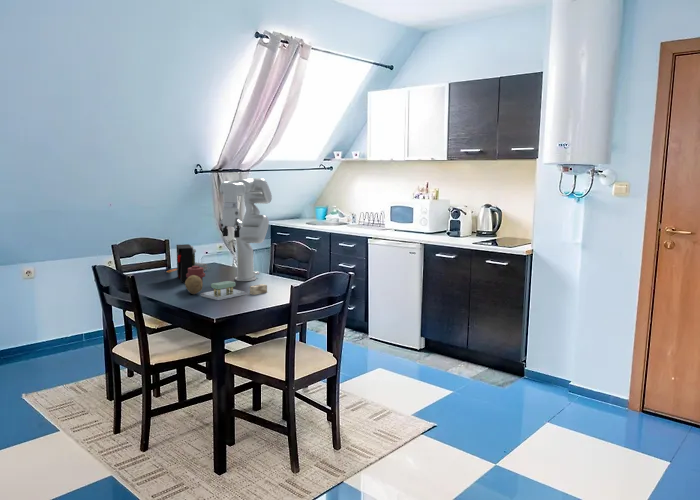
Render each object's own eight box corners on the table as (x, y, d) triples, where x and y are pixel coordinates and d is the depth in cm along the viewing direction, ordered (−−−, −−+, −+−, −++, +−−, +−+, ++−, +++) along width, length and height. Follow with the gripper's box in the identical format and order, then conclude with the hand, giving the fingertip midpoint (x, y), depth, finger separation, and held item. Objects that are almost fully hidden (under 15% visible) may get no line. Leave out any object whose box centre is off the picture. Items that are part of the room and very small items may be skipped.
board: (228, 284, 289) (228, 280, 289) (235, 286, 285) (235, 282, 285) (211, 287, 280) (211, 283, 280) (218, 289, 277) (218, 285, 276)
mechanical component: (193, 286, 306) (208, 287, 303) (183, 289, 296) (199, 290, 294) (192, 264, 304) (208, 265, 302) (182, 267, 295) (198, 268, 292)
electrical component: (196, 281, 318) (196, 247, 315) (178, 283, 314) (177, 248, 311) (193, 276, 334) (192, 244, 331) (176, 277, 330) (175, 244, 327)
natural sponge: (187, 292, 290) (186, 273, 289) (204, 292, 291) (204, 273, 290) (183, 295, 281) (183, 276, 280) (201, 295, 282) (201, 276, 281)
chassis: (228, 290, 295) (228, 282, 294) (245, 294, 286) (245, 286, 285) (200, 296, 281) (200, 287, 280) (217, 300, 272) (217, 291, 272)
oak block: (262, 291, 295) (262, 283, 294) (267, 292, 293) (267, 284, 292) (249, 293, 288) (249, 286, 287) (254, 294, 286) (254, 287, 285)
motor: (189, 267, 366) (188, 260, 365) (213, 270, 355) (212, 263, 354) (162, 278, 347) (160, 270, 345) (187, 282, 336) (186, 274, 334)
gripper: (246, 206, 295) (246, 237, 298) (226, 204, 306) (226, 235, 308) (235, 206, 289) (235, 238, 292) (215, 205, 300) (215, 236, 303)
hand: (231, 236), depth 300 cm, fingers open, 9 cm apart
